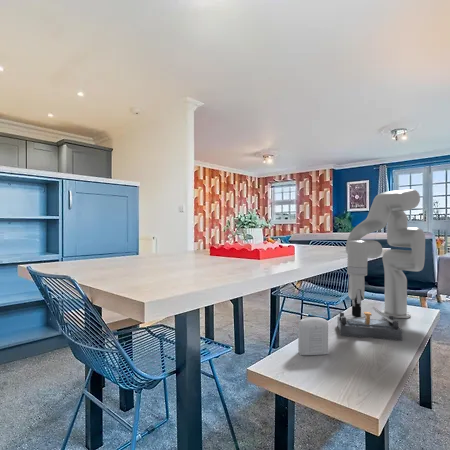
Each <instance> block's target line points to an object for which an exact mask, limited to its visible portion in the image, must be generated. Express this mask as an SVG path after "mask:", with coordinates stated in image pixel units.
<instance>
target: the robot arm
mask: <svg viewBox="0 0 450 450" xmlns="http://www.w3.org/2000/svg"><path fill="white" fill-rule="evenodd" d="M420 202H421V196H420V193H419V191H417V190H416V189H403V190H390V191H389V190H387V191H383V192H381V193H379V194H376V196H375V197H374V198H373V200H372V204H371V206H370V208H369V210H368V214H367V217H366V218H365V219H364V220H362V221H361V222H360V223H358V224H356V226H355V227H353V228H352V230H350V232H349V235H348V237H347V240H346V244H345V252H346V254H347V262H346V263H347V267H346V268H347V269H346V270H347V272H346V273H347V275H348V289H347V290H348V292H347V296H348V297H349V299H350V300H351V301H352V303H351V304H352V305H351V315H352V316H356V317H360V316H361V313H362V301H364V300H365V287H366V286H365V282H366V281H365V277H366V276H368V259H377V258H379V257H380V256H381V255H382V258H381V259H382V263H383V265H382V266H383V270H384V271H383V272H384V308H383V309H381V310H380V312H382V313H383V314H384V315H386V316H387V317H389V316H393V317H394V319H408V318H411V316H412V315H411V313H410V312H408V279H407V276H406V274H405V273H404V271H408V272H420V271H423V269H424V266H425V261H426V258H425V257H426V234H425V232H424V230H423V229H422V228H420V227H409V225H408V220H409V219H408V216H407V214H406V211H409V210H413V209H415V208H416V207H418V205H419V204H420ZM386 227H387V229H386V231H387V232H386V242H387V244H388V245H389V246H390V247H395V248H397V247H398V248H409V249H411V250H406V249H405V250H404V249H393V248H392V249H388V250H385V251H384V252H383V246H382V244H381V243H380V242H379V241H377V240H373V239H362V238H363V237H365V236H367V235H368V234H371V233H374V232H377V231H380V230H382V229H385V228H386ZM382 253H383V254H382Z"/></svg>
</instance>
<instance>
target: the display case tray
mask: <svg viewBox="0 0 450 450" xmlns="http://www.w3.org/2000/svg"><path fill="white" fill-rule="evenodd" d="M363 314H364V315H365V317H366V318H361V319H355V320H349V321H346V317H342V320H341V316H345V313H344V312H339V316H337V317H336V318H337V323H336V325H337V329H338V332H339V334H340V335H339V336H342V337H351V338H352V337H354V338H365V339H377V340H378V339H379V340H389V341H392V340H393V341H403V330H402V329H401V327H400V326H399V321H398V320H394V319H395V318H394V317H393V316H388V317H389V318H390V319H393V320H394V321H393V324H392V323H391V322H390V321H388V320H387V319H377V318H371V316H372V313H371V311H363Z"/></svg>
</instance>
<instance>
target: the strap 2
mask: <svg viewBox="0 0 450 450" xmlns="http://www.w3.org/2000/svg"><path fill="white" fill-rule="evenodd" d="M372 309H373V311H375V313H377V314H378V315H380V316H381V317H382V318H384V319H385V320H388V321H390V322H391V323H392V324H393V321H395V320H393V319H390V318H389V316H386V315H384V314H383V313H382V312H381V310H379V309H377V308H376V307H375V306H373V307H372Z"/></svg>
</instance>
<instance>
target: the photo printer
mask: <svg viewBox="0 0 450 450" xmlns="http://www.w3.org/2000/svg"><path fill="white" fill-rule="evenodd" d="M297 338H298V343H297V345H298V346H297V347H298V349H297V350H298V354H299V355H301V356H316V355H317V356H319V355H321V356H323V355H328V354H329V321H328V320H327V319H325V318H322V317H318V316H317V317H316V316H309V317H305V318H302V319H299V321H298V337H297Z"/></svg>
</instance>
